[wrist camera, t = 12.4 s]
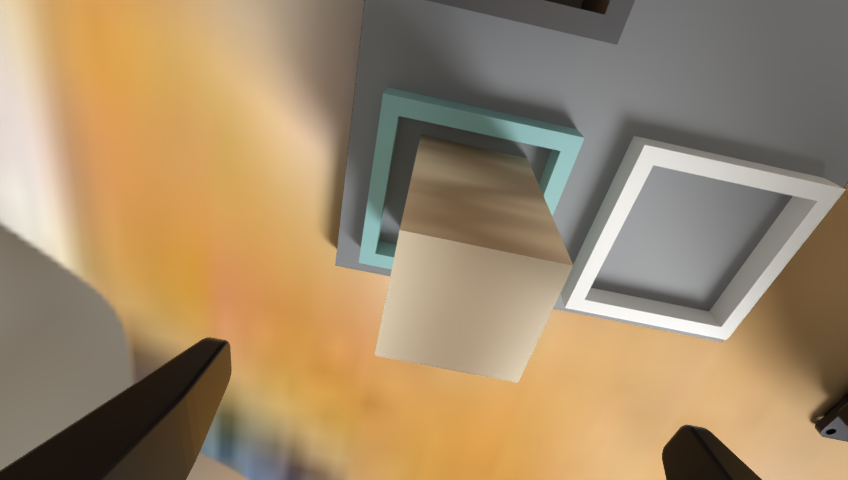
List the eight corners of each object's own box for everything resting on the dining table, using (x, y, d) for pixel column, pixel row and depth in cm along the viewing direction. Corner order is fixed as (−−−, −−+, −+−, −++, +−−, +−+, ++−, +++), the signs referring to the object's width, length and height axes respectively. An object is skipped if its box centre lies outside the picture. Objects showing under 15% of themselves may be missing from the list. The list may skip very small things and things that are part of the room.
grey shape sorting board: (1085, -175, 11) (1320, -234, 8) (710, 327, 20) (755, 385, 17) (411, -362, 10) (394, -505, 7) (340, 253, 19) (319, 301, 16)
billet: (527, 158, 16) (573, 265, 10) (496, 247, 18) (517, 382, 12) (420, 134, 15) (399, 230, 9) (401, 228, 17) (374, 355, 11)
